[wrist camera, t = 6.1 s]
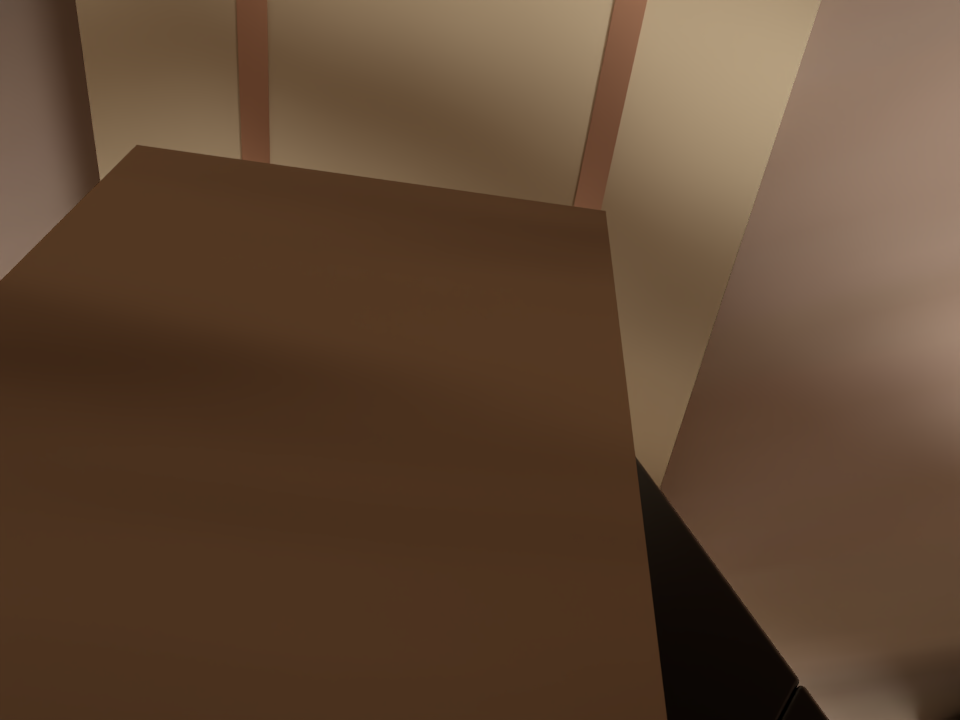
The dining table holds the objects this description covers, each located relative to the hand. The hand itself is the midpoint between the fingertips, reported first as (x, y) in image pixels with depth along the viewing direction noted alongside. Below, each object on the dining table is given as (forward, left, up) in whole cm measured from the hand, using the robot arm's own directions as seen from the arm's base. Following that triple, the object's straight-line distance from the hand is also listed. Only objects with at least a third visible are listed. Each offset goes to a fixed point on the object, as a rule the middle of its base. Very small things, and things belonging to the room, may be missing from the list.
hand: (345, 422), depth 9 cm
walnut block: (0, 0, -1) cm, 1 cm away
